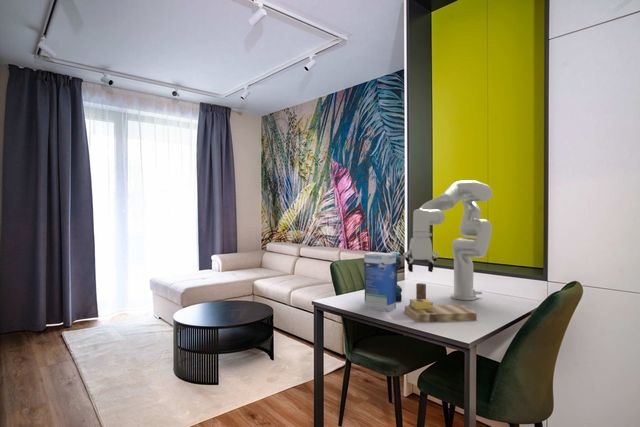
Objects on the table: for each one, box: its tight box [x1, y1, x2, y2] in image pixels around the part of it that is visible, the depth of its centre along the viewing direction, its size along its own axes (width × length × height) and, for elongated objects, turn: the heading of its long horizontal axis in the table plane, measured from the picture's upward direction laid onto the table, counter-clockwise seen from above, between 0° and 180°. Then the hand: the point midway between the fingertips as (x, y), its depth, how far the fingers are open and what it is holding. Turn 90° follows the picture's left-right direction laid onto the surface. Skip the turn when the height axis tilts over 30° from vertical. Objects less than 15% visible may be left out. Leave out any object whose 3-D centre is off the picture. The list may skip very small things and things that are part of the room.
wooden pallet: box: [404, 304, 478, 323], centre depth 155 cm, size 26×15×3 cm, turn 97°
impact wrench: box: [388, 250, 403, 303], centre depth 185 cm, size 8×23×25 cm, turn 174°
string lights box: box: [363, 251, 397, 312], centre depth 168 cm, size 13×8×26 cm, turn 52°
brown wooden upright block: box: [415, 282, 427, 299], centre depth 170 cm, size 4×4×10 cm
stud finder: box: [410, 298, 432, 309], centre depth 158 cm, size 7×5×3 cm
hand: (420, 271), depth 170 cm, fingers open, 9 cm apart
